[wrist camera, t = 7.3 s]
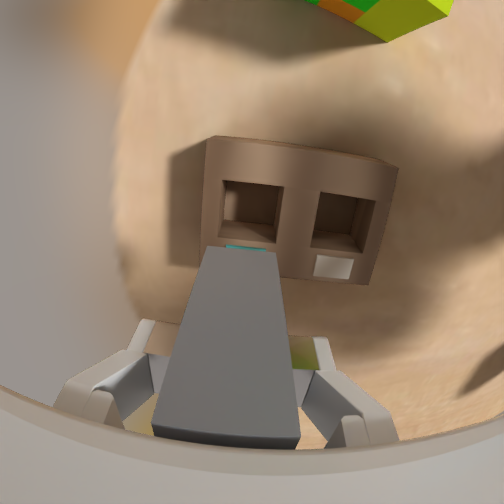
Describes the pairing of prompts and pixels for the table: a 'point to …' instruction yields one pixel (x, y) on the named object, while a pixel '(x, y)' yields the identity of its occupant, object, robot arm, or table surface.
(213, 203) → the socket block
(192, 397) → the plug
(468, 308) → the table surface
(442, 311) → the table surface
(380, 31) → the puzzle toy
